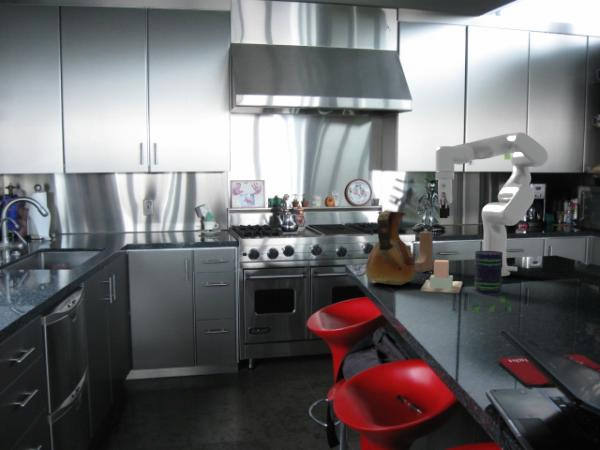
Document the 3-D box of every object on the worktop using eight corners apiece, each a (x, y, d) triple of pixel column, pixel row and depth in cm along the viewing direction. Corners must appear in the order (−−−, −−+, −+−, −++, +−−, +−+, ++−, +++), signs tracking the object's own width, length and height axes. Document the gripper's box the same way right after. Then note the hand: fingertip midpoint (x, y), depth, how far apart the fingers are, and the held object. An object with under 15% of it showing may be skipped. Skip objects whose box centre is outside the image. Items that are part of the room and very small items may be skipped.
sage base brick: (452, 285, 209) (452, 275, 209) (451, 288, 204) (451, 278, 203) (431, 284, 212) (431, 274, 212) (429, 287, 206) (429, 277, 206)
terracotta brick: (448, 275, 209) (448, 260, 208) (447, 278, 204) (447, 262, 204) (435, 275, 211) (435, 259, 210) (433, 277, 206) (433, 261, 205)
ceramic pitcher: (420, 281, 225) (420, 209, 222) (408, 290, 206) (408, 212, 204) (374, 278, 233) (374, 208, 230) (359, 287, 215) (359, 211, 212)
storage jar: (502, 290, 205) (502, 251, 204) (502, 295, 196) (503, 254, 194) (474, 288, 208) (474, 250, 207) (473, 294, 199) (474, 253, 198)
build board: (462, 284, 218) (462, 281, 217) (459, 293, 201) (459, 290, 201) (426, 282, 222) (426, 279, 222) (421, 290, 206) (421, 288, 205)
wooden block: (421, 272, 245) (421, 233, 243) (413, 271, 248) (413, 232, 247) (432, 270, 251) (433, 231, 249) (424, 269, 254) (425, 231, 252)
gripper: (452, 176, 216) (452, 218, 217) (455, 176, 232) (455, 215, 233) (433, 176, 218) (433, 218, 220) (437, 176, 234) (437, 215, 236)
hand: (444, 217), depth 226 cm, fingers open, 9 cm apart
